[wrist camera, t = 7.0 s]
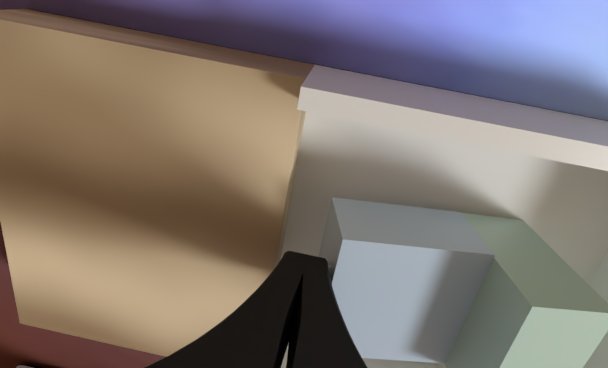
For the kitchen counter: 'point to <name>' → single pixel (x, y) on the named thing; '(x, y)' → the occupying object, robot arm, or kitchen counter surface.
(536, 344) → the tile
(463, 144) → the box
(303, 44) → the kitchen counter surface
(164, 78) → the oak plate
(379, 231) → the tile
